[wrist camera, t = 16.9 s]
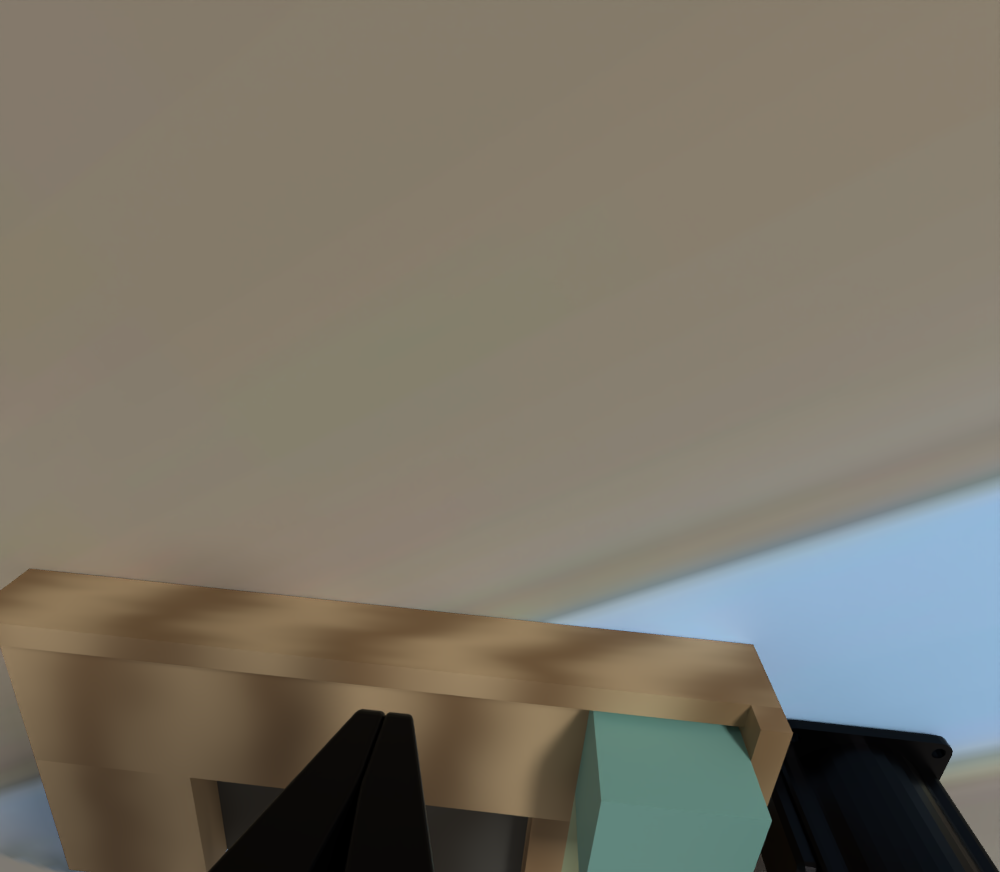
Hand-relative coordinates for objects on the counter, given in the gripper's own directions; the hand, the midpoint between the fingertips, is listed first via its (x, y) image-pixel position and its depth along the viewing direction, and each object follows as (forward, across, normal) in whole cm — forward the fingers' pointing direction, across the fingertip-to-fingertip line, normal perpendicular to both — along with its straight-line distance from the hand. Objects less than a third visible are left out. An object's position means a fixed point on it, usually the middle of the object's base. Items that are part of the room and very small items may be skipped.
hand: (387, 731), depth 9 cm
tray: (+12, +3, +16) cm, 20 cm away
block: (+10, -8, +11) cm, 17 cm away
